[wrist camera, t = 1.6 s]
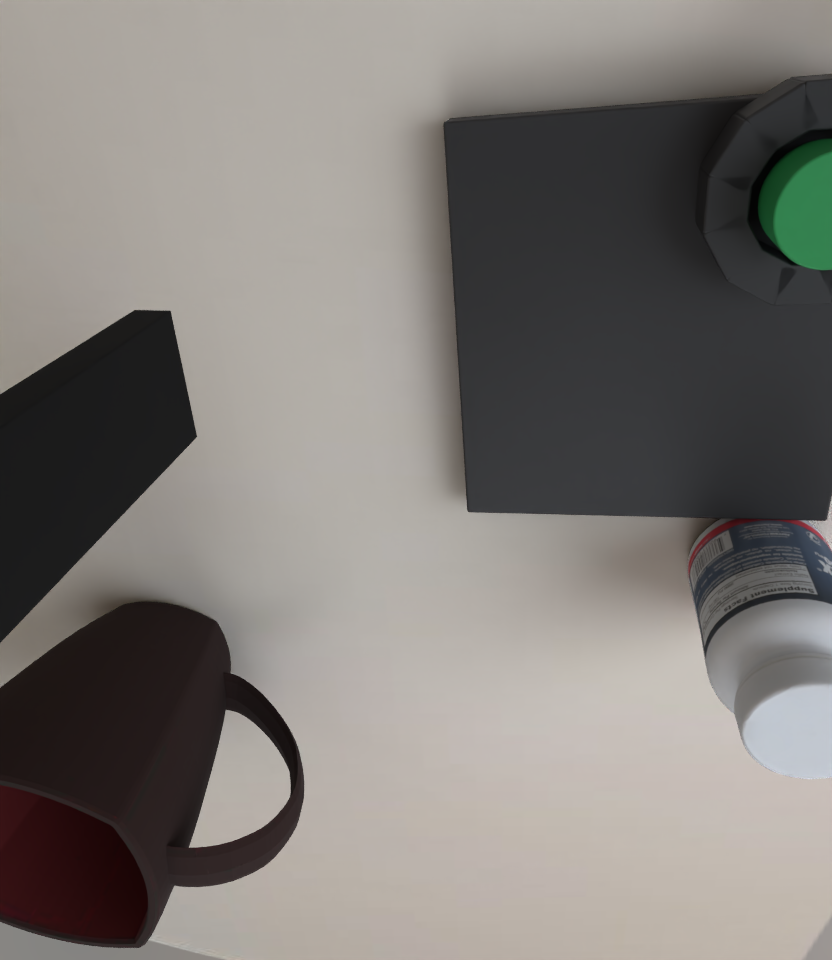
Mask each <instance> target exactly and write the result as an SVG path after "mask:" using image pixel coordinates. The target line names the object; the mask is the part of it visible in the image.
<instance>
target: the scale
mask: <svg viewBox="0 0 832 960" xmlns="http://www.w3.org/2000/svg"><path fill="white" fill-rule="evenodd" d="M819 139H832V74H824V75H812V76H800V77H791V78H790V79H787V80H785V81H783V82H782V83H780V84H779V85H777V86H776V87H774V88H772V89H771V90H769V91H768V92H766V93H764V94H755V95H742V96H729V97H716V98H704V99H691V100H678V101H665V102H653V103H640V104H627V105H615V106H602V107H589V108H576V109H564V110H551V111H538V112H525V113H513V114H500V115H487V116H474V117H462V118H451V119H449V120H447V121H446V122H444V141H445V157H446V173H447V189H448V205H449V222H450V238H451V254H452V270H453V286H454V302H455V319H456V335H457V351H458V367H459V383H460V399H461V416H462V432H463V448H464V464H465V480H466V496H467V510H468V512H485V513H526V514H567V515H609V516H650V517H691V518H732V519H773V520H815V521H825V520H826V519H827V515H828V510H829V505H830V501H831V496H832V270H814V269H809V268H806V267H802V266H800V265H798V264H796V263H794V262H793V261H791V260H790V259H789V258H788V257H787V256H785V255H784V253H783V252H782V251H781V250H780V249H779V248H778V247H777V246H776V245H775V244H774V243H773V242H772V240H771V239H770V238H769V237H768V236H767V235H766V233H765V232H764V230H763V228H762V226H761V223H760V220H759V215H758V199H759V194H760V191H761V188H762V185H763V183H764V181H765V178H766V177H767V175H768V174H769V172H770V171H771V169H772V168H773V167H774V165H775V164H776V163H777V162H778V161H779V160H780V159H781V158H782V157H784V156H785V155H786V154H787V153H789V152H790V151H792V150H793V149H795V148H797V147H798V146H800V145H802V144H805V143H808V142H810V141H814V140H819Z"/></svg>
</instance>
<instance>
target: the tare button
mask: <svg viewBox="0 0 832 960" xmlns="http://www.w3.org/2000/svg"><path fill="white" fill-rule="evenodd" d="M758 215H759V220H760V223H761V226H762V228H763V230H764V232H765V233H766V235H767V236H768V237H769V238H770V239H771V240H772V242H773V243H774V244H775V245H776V246H777V247H778V248H779V249H780V250H781V251H782V252H783V253H784V255H785V256H787V257H788V258H789V259H790V260H791V261H793V262H794V263H796V264H798V265H800V266H802V267H806V268H809V269H814V270H832V139H819V140H814V141H810V142H808V143H805V144H802V145H800V146H798V147H797V148H795V149H793V150H792V151H790V152H789V153H787V154H786V155H785V156H784V157H782V158H781V159H780V160H779V161H778V162H777V163H776V164H775V165H774V167H773V168H772V169H771V171H770V172H769V174H768V175H767V177H766V178H765V181H764V183H763V185H762V188H761V191H760V194H759V199H758Z"/></svg>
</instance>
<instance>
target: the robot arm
mask: <svg viewBox="0 0 832 960" xmlns="http://www.w3.org/2000/svg"><path fill="white" fill-rule="evenodd" d="M196 437H197V434H196V430H195V425H194V420H193V415H192V411H191V406H190V401H189V396H188V392H187V387H186V382H185V377H184V373H183V368H182V363H181V358H180V354H179V349H178V344H177V339H176V335H175V330H174V325H173V320H172V316H171V311H152V310H134V311H133V312H131V313H129V314H128V315H126V316H125V317H123V318H121V319H120V320H118V321H117V322H115V323H114V324H112V325H110V326H109V327H107V328H106V329H104V330H102V331H101V332H99V333H98V334H96V335H94V336H93V337H91V338H90V339H88V340H86V341H85V342H83V343H82V344H80V345H78V346H77V347H75V348H74V349H72V350H70V351H69V352H67V353H66V354H64V355H62V356H61V357H59V358H58V359H56V360H54V361H53V362H51V363H50V364H48V365H47V366H45V367H43V368H42V369H40V370H39V371H37V372H35V373H34V374H32V375H31V376H29V377H27V378H26V379H24V380H23V381H21V382H19V383H18V384H16V385H15V386H13V387H11V388H10V389H8V390H7V391H5V392H3V393H2V394H0V642H1V641H2V640H3V639H4V638H5V637H6V636H7V635H8V634H9V633H10V632H11V631H12V630H13V629H14V628H15V627H16V626H17V625H18V624H19V623H20V621H21V620H22V619H23V618H24V617H25V616H26V615H27V614H28V613H29V612H30V611H31V610H32V609H33V608H34V607H35V606H36V605H37V604H38V603H39V602H40V601H41V600H42V598H43V597H44V596H45V595H46V594H47V593H48V592H49V591H50V590H51V589H52V588H53V587H54V586H55V585H56V584H57V583H58V582H59V581H60V580H61V579H62V578H63V576H64V575H65V574H66V573H67V572H68V571H69V570H70V569H71V568H72V567H73V566H74V565H75V564H76V563H77V562H78V561H79V560H80V559H81V558H82V557H83V556H84V555H85V553H86V552H87V551H88V550H89V549H90V548H91V547H92V546H93V545H94V544H95V543H96V542H97V541H98V540H99V539H100V538H101V537H102V536H103V535H104V534H105V533H106V531H107V530H108V529H109V528H110V527H111V526H112V525H113V524H114V523H115V522H116V521H117V520H118V519H119V518H120V517H121V516H122V515H123V514H124V513H125V512H126V511H127V510H128V508H129V507H130V506H131V505H132V504H133V503H134V502H135V501H136V500H137V499H138V498H139V497H140V496H141V495H142V494H143V493H144V492H145V491H146V490H147V489H148V488H149V486H150V485H151V484H152V483H153V482H154V481H155V480H156V479H157V478H158V477H159V476H160V475H161V474H162V473H163V472H164V471H165V470H166V469H167V468H168V467H169V466H170V465H171V463H172V462H173V461H174V460H175V459H176V458H177V457H178V456H179V455H180V454H181V453H182V452H183V451H184V450H185V449H186V448H187V447H188V446H189V445H190V444H191V443H192V441H193V440H194V439H195V438H196Z"/></svg>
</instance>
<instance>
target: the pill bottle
mask: <svg viewBox="0 0 832 960" xmlns="http://www.w3.org/2000/svg"><path fill="white" fill-rule="evenodd" d="M687 572H688V579H689V584H690V588H691V592H692V596H693V601H694V605H695V609H696V614H697V619H698V623H699V628H700V633H701V638H702V644H703V651H704V657H705V663H706V668H707V673H708V677H709V680H710V683H711V685H712V688H713V689H714V691H715V693H716V695H717V696H718V698H719V699H720V701H721V702H722V703H723V704H724V705H725V706H726V707H727V708H728V709H729V710H730V711H731V712H733V713H734V714H735V718H736V721H737V724H738V728H739V732H740V735H741V739H742V741H743V744H744V746H745V748H746V750H747V751H748V753H749V754H750V755H751V756H752V758H753V759H754V760H756V761H757V762H758V763H759V764H761V765H762V766H764V767H765V768H767V769H769V770H771V771H773V772H775V773H779V774H782V775H785V776H789V777H794V778H802V779H821V778H829V777H832V551H831V549H830V547H829V545H828V544H827V542H826V540H825V538H824V537H823V535H822V534H821V533H820V532H819V530H818V529H817V528H815V527H814V526H813V525H812V524H811V523H809V522H808V521H807V520H773V519H732V518H722V519H720V520H718V521H717V522H715V523H713V524H712V525H711V526H709V527H708V528H707V529H706V530H705V531H704V532H703V533H702V534H701V535H700V536H699V537H698V538H697V540H696V541H695V543H694V545H693V547H692V549H691V551H690V554H689V558H688V565H687Z"/></svg>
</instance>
